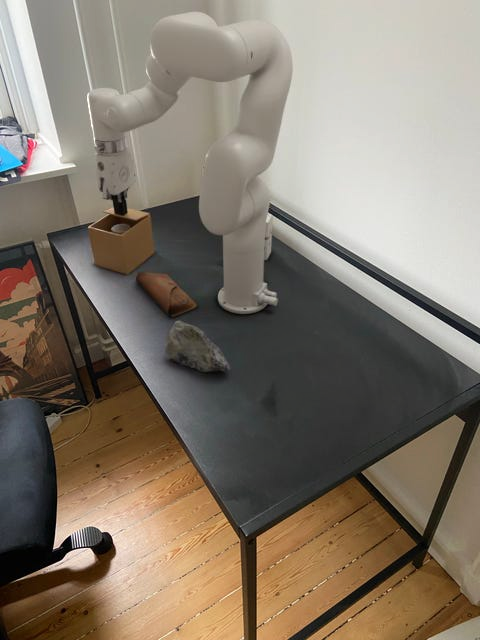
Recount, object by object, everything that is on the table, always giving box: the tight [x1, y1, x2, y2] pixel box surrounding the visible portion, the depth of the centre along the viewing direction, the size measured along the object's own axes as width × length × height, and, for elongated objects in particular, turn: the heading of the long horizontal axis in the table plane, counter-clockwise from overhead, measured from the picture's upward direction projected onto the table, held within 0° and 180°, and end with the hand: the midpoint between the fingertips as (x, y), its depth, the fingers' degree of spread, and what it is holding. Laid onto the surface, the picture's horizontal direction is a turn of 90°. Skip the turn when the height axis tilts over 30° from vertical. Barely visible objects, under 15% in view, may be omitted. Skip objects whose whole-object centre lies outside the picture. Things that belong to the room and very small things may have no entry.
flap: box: [102, 206, 151, 221], centre depth 138 cm, size 6×11×1 cm, turn 64°
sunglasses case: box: [135, 271, 198, 318], centre depth 128 cm, size 18×7×7 cm
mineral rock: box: [165, 320, 232, 373], centre depth 105 cm, size 13×11×10 cm
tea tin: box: [111, 224, 131, 235], centre depth 140 cm, size 5×5×9 cm
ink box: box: [264, 213, 274, 261], centre depth 142 cm, size 9×5×12 cm, turn 73°
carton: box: [87, 214, 156, 275], centre depth 140 cm, size 13×11×11 cm
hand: (121, 213), depth 137 cm, fingers closed
